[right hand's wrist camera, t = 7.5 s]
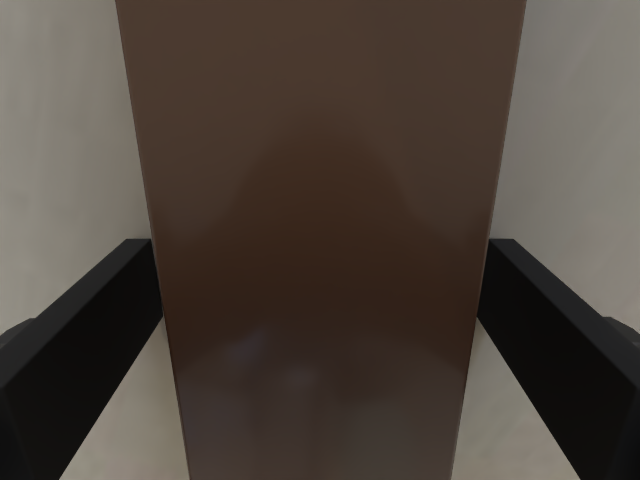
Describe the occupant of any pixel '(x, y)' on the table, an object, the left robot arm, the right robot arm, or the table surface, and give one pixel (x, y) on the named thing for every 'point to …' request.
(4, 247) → the table surface
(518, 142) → the table surface
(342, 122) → the beam
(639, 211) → the table surface
